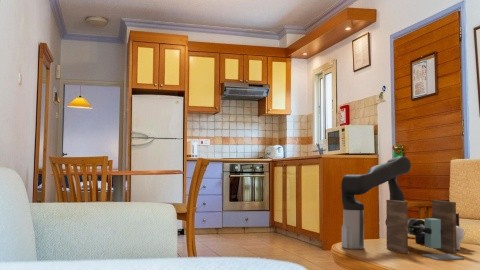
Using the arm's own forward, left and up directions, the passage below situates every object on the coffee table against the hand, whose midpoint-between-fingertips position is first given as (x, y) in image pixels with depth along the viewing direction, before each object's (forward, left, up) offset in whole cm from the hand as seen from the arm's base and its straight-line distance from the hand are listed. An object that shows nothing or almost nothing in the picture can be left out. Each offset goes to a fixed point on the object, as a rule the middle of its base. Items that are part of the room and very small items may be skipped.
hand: (436, 231), depth 214 cm
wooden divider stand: (0, +12, -10) cm, 16 cm away
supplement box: (+23, +25, -10) cm, 35 cm away
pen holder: (+17, +37, -10) cm, 42 cm away
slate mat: (-1, -6, -10) cm, 12 cm away
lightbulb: (+18, +12, -10) cm, 24 cm away
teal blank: (0, +3, -7) cm, 8 cm away
